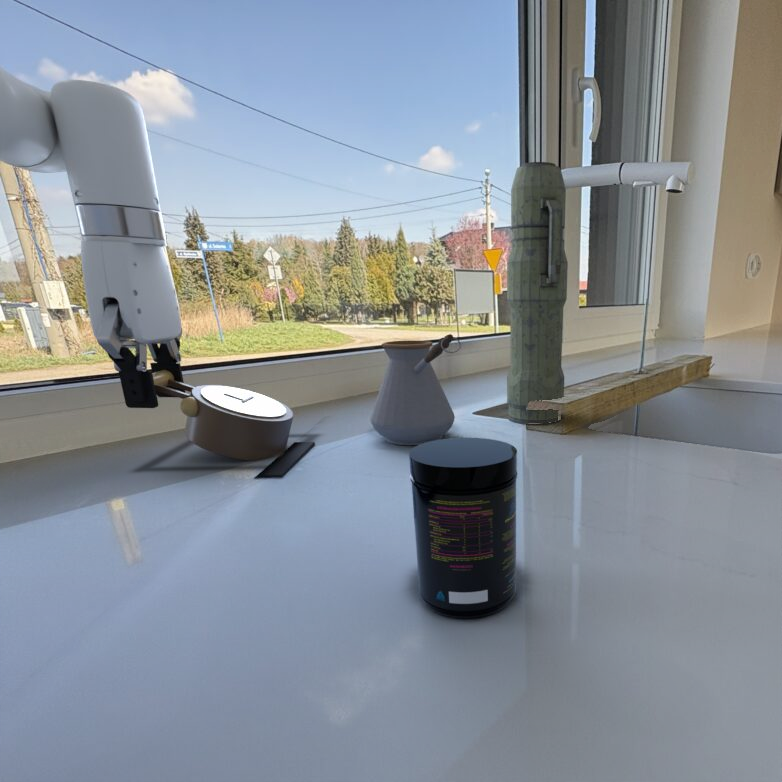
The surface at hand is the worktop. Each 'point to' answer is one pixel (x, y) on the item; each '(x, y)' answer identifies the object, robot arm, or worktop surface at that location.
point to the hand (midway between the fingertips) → (157, 400)
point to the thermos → (536, 291)
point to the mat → (286, 460)
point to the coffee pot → (412, 394)
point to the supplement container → (465, 524)
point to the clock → (231, 419)
